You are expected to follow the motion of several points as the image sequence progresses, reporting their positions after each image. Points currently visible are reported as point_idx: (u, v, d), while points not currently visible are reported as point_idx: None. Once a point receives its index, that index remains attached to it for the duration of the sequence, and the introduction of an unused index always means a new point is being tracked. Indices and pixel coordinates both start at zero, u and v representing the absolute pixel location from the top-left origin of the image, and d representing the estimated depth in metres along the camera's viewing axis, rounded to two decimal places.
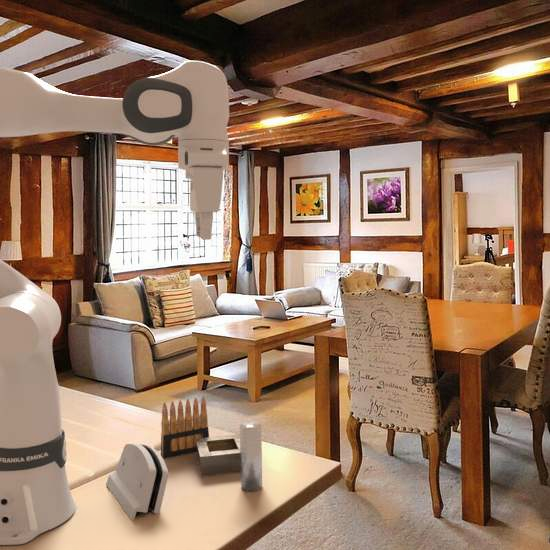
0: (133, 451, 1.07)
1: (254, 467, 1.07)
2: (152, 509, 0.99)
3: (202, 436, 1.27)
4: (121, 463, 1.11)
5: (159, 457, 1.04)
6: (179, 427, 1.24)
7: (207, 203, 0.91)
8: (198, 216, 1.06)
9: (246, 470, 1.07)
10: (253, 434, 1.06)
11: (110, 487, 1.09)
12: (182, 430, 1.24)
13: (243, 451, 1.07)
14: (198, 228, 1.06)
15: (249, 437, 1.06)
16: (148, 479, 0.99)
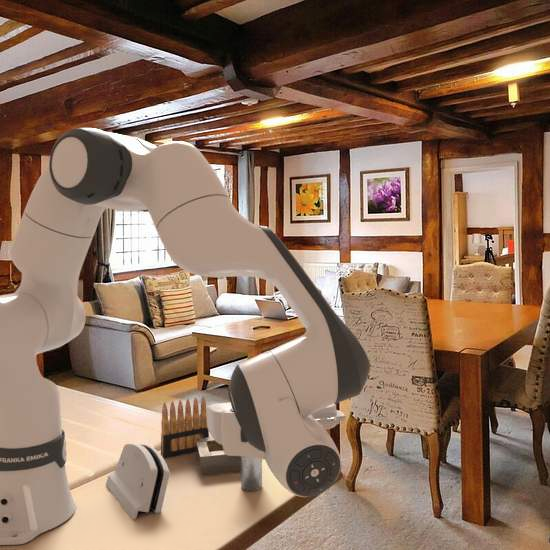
0: (133, 451, 1.08)
1: (254, 467, 1.07)
2: (153, 509, 1.00)
3: (202, 436, 1.27)
4: (121, 463, 1.11)
5: (160, 457, 1.05)
6: (179, 427, 1.24)
7: (206, 416, 0.88)
8: None
9: (246, 470, 1.07)
10: None
11: (110, 488, 1.09)
12: (182, 430, 1.24)
13: None
14: None
15: None
16: (149, 479, 0.99)
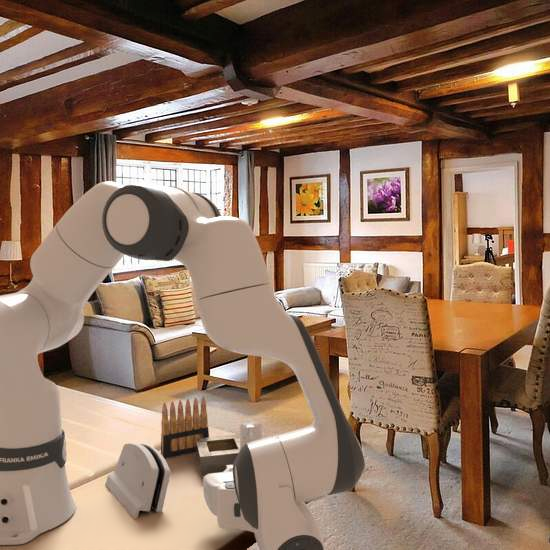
0: (133, 451, 1.08)
1: None
2: (154, 508, 1.00)
3: (202, 436, 1.27)
4: (120, 463, 1.11)
5: (160, 456, 1.05)
6: (179, 427, 1.24)
7: (203, 486, 0.95)
8: None
9: None
10: (253, 434, 1.06)
11: (109, 487, 1.09)
12: (182, 430, 1.24)
13: None
14: None
15: (249, 437, 1.06)
16: (150, 478, 1.00)
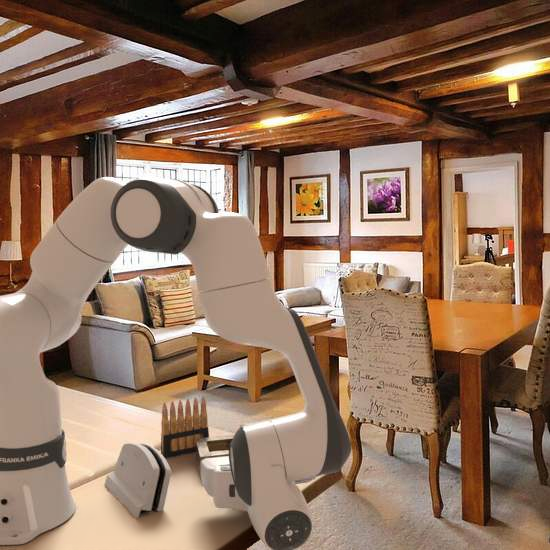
0: (133, 450, 1.08)
1: None
2: (156, 507, 1.00)
3: (202, 436, 1.27)
4: (120, 463, 1.11)
5: (160, 455, 1.05)
6: (179, 427, 1.24)
7: (200, 469, 1.01)
8: None
9: None
10: None
11: (109, 487, 1.09)
12: (182, 430, 1.24)
13: None
14: None
15: None
16: (152, 477, 1.00)
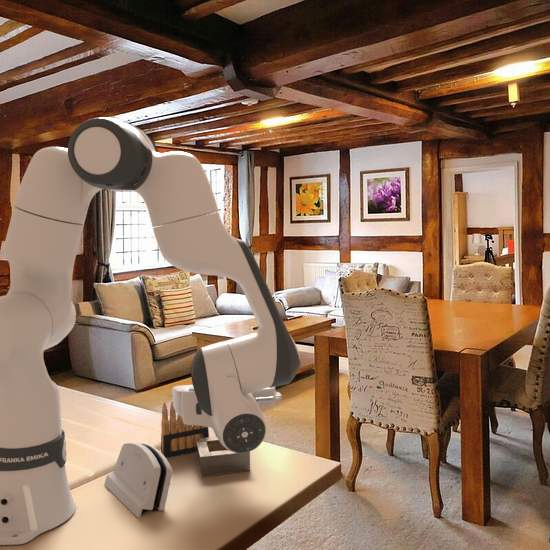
0: (133, 450, 1.08)
1: None
2: (157, 506, 1.00)
3: (202, 436, 1.27)
4: (119, 463, 1.11)
5: (161, 455, 1.05)
6: (179, 427, 1.24)
7: (172, 395, 1.11)
8: None
9: None
10: None
11: (109, 487, 1.09)
12: (182, 430, 1.24)
13: None
14: None
15: None
16: (153, 477, 1.00)
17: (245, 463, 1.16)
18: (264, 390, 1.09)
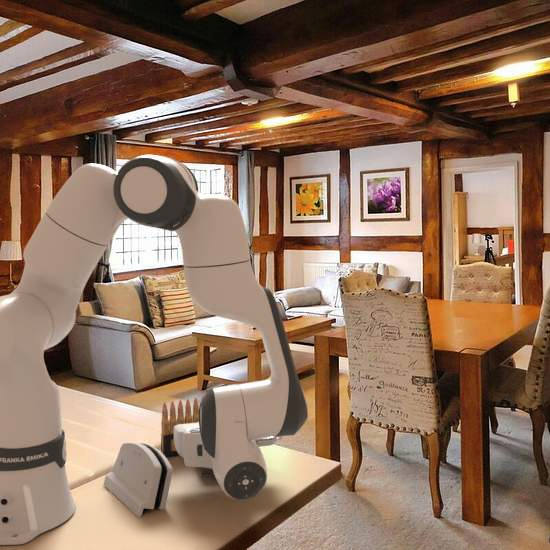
0: (133, 450, 1.08)
1: None
2: (158, 505, 1.01)
3: None
4: (119, 463, 1.11)
5: (161, 454, 1.06)
6: None
7: None
8: None
9: None
10: None
11: (108, 487, 1.09)
12: None
13: None
14: None
15: None
16: (154, 476, 1.00)
17: None
18: None
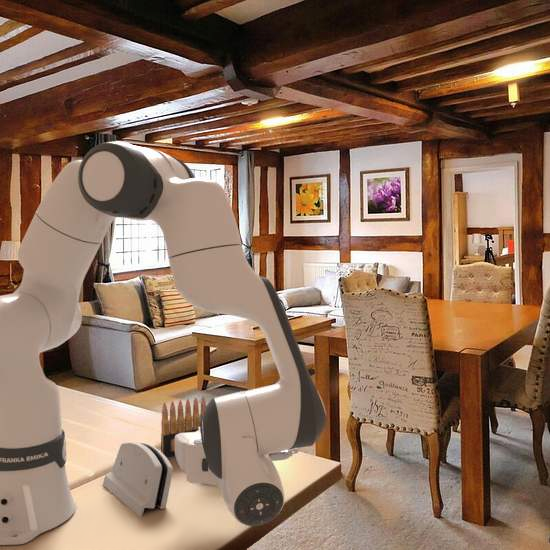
0: (132, 450, 1.08)
1: None
2: (159, 505, 1.01)
3: None
4: (118, 462, 1.11)
5: (161, 454, 1.06)
6: (179, 427, 1.24)
7: None
8: None
9: None
10: None
11: (108, 487, 1.09)
12: (182, 430, 1.24)
13: None
14: None
15: None
16: (154, 475, 1.01)
17: None
18: None
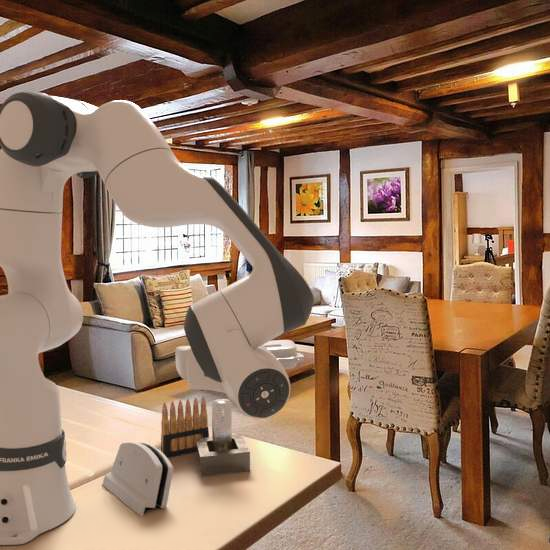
0: (132, 449, 1.08)
1: (224, 439, 1.17)
2: (159, 504, 1.01)
3: (202, 436, 1.27)
4: (118, 462, 1.11)
5: (161, 453, 1.06)
6: (179, 427, 1.24)
7: (175, 357, 0.94)
8: None
9: (217, 442, 1.17)
10: (224, 409, 1.17)
11: (108, 487, 1.09)
12: (182, 430, 1.24)
13: (214, 424, 1.18)
14: None
15: (220, 412, 1.17)
16: (155, 475, 1.01)
17: (245, 463, 1.16)
18: (284, 350, 0.92)
